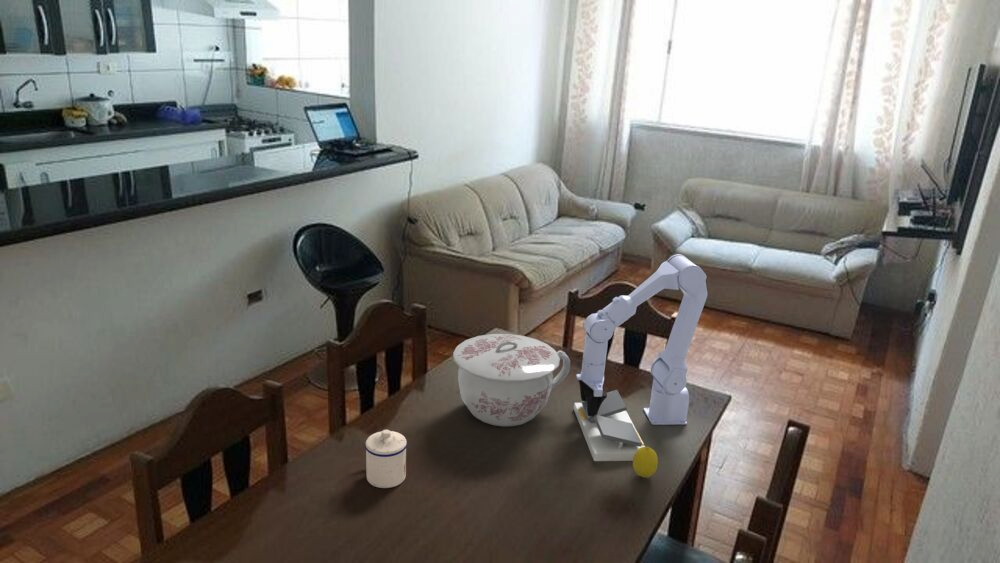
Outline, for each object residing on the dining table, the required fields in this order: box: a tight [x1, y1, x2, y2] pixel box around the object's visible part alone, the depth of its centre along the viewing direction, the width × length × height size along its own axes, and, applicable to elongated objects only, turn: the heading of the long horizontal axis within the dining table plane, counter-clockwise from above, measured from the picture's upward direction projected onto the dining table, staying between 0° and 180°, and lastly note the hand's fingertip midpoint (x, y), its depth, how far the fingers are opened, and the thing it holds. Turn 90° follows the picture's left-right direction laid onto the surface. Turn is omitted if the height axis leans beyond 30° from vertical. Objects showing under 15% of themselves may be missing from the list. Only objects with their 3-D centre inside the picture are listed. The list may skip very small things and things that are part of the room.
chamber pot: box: [452, 333, 571, 427], centre depth 180 cm, size 28×28×21 cm
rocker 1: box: [580, 389, 628, 422], centre depth 181 cm, size 10×10×2 cm
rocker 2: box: [594, 415, 642, 447], centre depth 169 cm, size 10×10×2 cm
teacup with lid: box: [364, 429, 408, 489], centre depth 154 cm, size 12×9×12 cm
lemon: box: [632, 446, 659, 478], centre depth 158 cm, size 6×6×8 cm
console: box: [573, 402, 646, 462], centre depth 176 cm, size 13×24×3 cm, turn 6°
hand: (588, 407), depth 180 cm, fingers open, 7 cm apart
